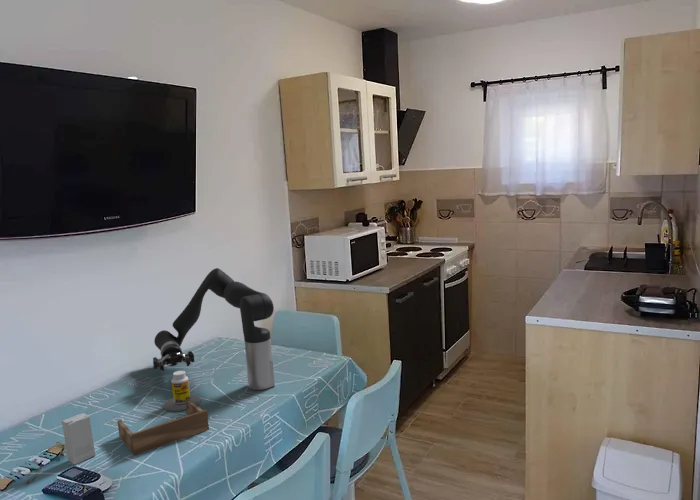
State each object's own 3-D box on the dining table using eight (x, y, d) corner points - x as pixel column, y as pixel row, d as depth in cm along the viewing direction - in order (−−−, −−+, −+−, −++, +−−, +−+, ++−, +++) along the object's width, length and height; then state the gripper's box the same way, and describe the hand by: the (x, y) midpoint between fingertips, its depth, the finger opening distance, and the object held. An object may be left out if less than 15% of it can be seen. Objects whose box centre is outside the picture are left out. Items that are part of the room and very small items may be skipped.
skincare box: (88, 451, 158) (83, 411, 157) (96, 456, 155) (90, 415, 154) (66, 461, 154) (60, 420, 152) (73, 466, 151) (68, 424, 149)
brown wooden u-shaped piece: (119, 436, 167) (116, 417, 166) (190, 413, 180) (188, 396, 179) (134, 455, 155) (132, 435, 154) (209, 429, 168) (207, 410, 167)
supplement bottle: (173, 406, 184) (170, 376, 183) (173, 400, 190) (170, 371, 188) (191, 403, 186) (188, 373, 185) (190, 397, 191) (187, 368, 190)
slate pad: (201, 394, 195) (201, 392, 195) (199, 408, 183) (199, 406, 183) (165, 399, 192) (165, 397, 192) (161, 414, 181) (161, 411, 181)
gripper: (191, 359, 214) (197, 372, 200) (152, 366, 209) (155, 379, 194) (189, 340, 213) (195, 351, 199) (150, 347, 208) (153, 359, 193)
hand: (175, 365), depth 196 cm, fingers open, 8 cm apart
